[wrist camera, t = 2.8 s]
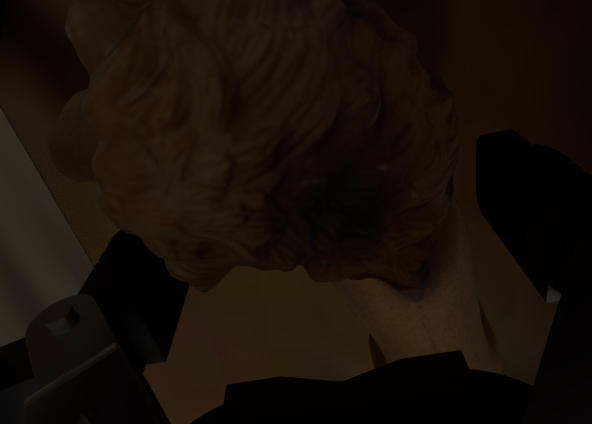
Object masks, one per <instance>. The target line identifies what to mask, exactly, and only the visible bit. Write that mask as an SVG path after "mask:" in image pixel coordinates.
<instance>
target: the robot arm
mask: <svg viewBox="0 0 592 424" xmlns="http://www.w3.org/2000/svg"><path fill="white" fill-rule="evenodd" d="M476 195H477V201H478V205H479V208H480V210H481V212H482V214H483V216H484V217H485V218H486V220H487V221H488V222H489V224H490V225H491V227H492V228H493V229H494V231H495V232H496V234H497V235H498V236H499V238H500V239H501V241H502V242H503V243H504V245H505V246H506V248H507V249H508V250H509V252H510V253H511V255H512V256H513V257H514V259H515V260H516V261H517V263H518V264H519V266H520V267H521V268H522V270H523V271H524V273H525V274H526V275H527V277H528V278H529V280H530V281H531V282H532V284H533V285H534V287H535V288H536V289H537V291H538V292H539V294H540V295H541V296H542V298H543V299H544V300H545V302H546V303H550V302H556V301H559V303H558V307H557V310H556V313H555V316H554V320H553V323H552V326H551V329H550V333H549V336H548V339H547V342H546V346H545V349H544V352H543V355H542V359H541V362H540V365H539V369H538V372H537V375H536V378H535V382H534V385H533V386H531V385H529V384H527V383H525V382H522V381H519V380H517V379H514V378H512V377H508V376H505V375H501V374H498V373H494V372H489V371H483V370H477V369H469V367H468V365H467V363H466V360H465V358H464V355H463V353H462V351H461V350H456V351H450V352H443V353H436V354H430V355H423V356H416V357H409V358H403V359H399V360H396V361H394V362H391V363H389V364H386V365H384V366H381V367H379V368H376V369H373V370H371V371H368V372H366V373H363V374H361V375H358V376H356V377H353V378H350V379H348V380H345V381H327V380H315V379H304V378H293V377H275V378H268V379H261V380H255V381H248V382H241V383H234V384H228V385H226V391H225V398H224V404H223V405H221V406H219V407H217V408H215V409H213V410H211V411H209V412H207V413H205V414H204V415H202V416H201V417H199V418H198V419H196V420H195V421H193V422H192V423H190V424H592V176H591V175H590V174H589V173H587V172H584V171H583V169H582V168H581V167H579V166H578V165H577V164H575V163H572V161H571V160H570V159H569V158H567V157H566V156H565V155H563V154H562V153H561V152H560V151H558V150H555V149H552V148H549V147H546V146H543V145H540V144H534V145H532V144H530V143H529V142H528V141H527V140H526V139H524V138H523V137H522V136H521V135H519V134H518V133H517V132H516V131H514V130H513V129H510V130H505V131H500V132H495V133H490V134H485V135H480V136H479V137H478V139H477V145H476ZM105 250H106V252H103V254H102V255H101V257H100V259H99V262H98V263H96V265H95V267H94V268H93V270H92V271H91V273H90V275H89V276H88V278H87V279H86V281H85V283H84V284H83V286H82V287H81V289H80V291H79V292H78V294H77V295H72V296H69V297H66V298H63V299H61V300H59V301H57V302H55V303H53V304H52V305H50V306H49V307H47V308H46V309H44V310H43V311H42V312H41V313H39V314H38V315H37V316H36V317H35V318H34V319H33V321H32V322H31V323H30V325H29V326H28V328H27V330H26V333H25V337H24V338H22V339H19V340H17V341H14V342H11V343H9V344H6V345H4V346H1V347H0V424H171V423H170V421H169V419H168V417H167V416H166V414H165V412H164V410H163V408H162V407H161V405H160V403H159V401H158V399H157V398H156V396H155V394H154V392H153V390H152V389H151V387H150V385H149V383H148V381H147V380H146V378H145V377H144V375H143V372H144V369H145V366H146V364H153V363H159V362H165V361H166V360H167V357H168V354H169V351H170V347H171V344H172V341H173V337H174V334H175V331H176V328H177V324H178V321H179V318H180V315H181V311H182V308H183V305H184V302H185V298H186V295H187V292H188V288H189V285H190V284H189V283H188V282H182V281H180V280H178V279H176V278H174V277H172V276H171V274H170V273H169V272H168V270H167V268H166V265H165V261H164V259H163V258H161V257H159V256H157V255H155V254H154V253H152V252H151V251H150V250H149V249H148V247H147V246H146V245H145V243H144V242H143V240H142V239H141V238H140V237H138V236H137V235H133V234H129V233H126V232H124V231H122V230H120V231H119V232H118V233H117V234H116V235H114V236H113V238H112V239H111V241H110V243H109V244H108V246H107V247H106V249H105Z"/></svg>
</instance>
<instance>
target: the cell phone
mask: <svg viewBox="0 0 592 424" xmlns="http://www.w3.org/2000/svg"><path fill="white" fill-rule="evenodd" d="M4 4H5V0H0V38H1V29H2V21H3V12H4Z"/></svg>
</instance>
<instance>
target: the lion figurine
mask: <svg viewBox="0 0 592 424" xmlns="http://www.w3.org/2000/svg"><path fill="white" fill-rule="evenodd" d="M65 30H66V33H67V36H68V38H69V39H70V41H71V42H72V44H73V45H74V48H75V50H76V52H77V55H78V57H79V59H80V61H81V63H82V64H83V66H84V67H85V69H86V71H87V72H88V74H89V76H90V85H89V87H88V89H86V90H83V91H80V92H78V93H76V94H74V95H73V96H72V98H71V99H70V100H69V101H68V102H67V103H66V104H65V105H64V107H63V109H62V111H61V113H60V116H59V118H58V120H57V122H56V124H55V126H54V127H53V128H52V129H51V131H50V132H49V134H48V137H47V146H48V151H49V155H50V158H51V160H52V162H53V164H54V165H55V167H56V168H57V169H58V170H59V171H60V172H61V173H62V174H64V175H65V176H66V177H68V178H70V179H72V180H75V181H79V182H83V181H92V182H98V183H99V185H100V186H101V188H100V192H99V196H98V200H97V202H98V204H99V206H100V207H101V209H102V211H103V212H104V214H105V215H106V216H107V217H108V218H109V219H110V220H111V221H112V222H113V223H114V225H115V226H116V227H117V228H118V229H120V230H122V231H124V232H126V233H129V234H133V235H137V236H138V237H140V238H141V239H142V240H143V242H144V243H145V245H146V246H147V247H148V249H149V250H150V251H151V252H152V253H154V254H155V255H157V256H159V257H161V258H163V259H164V261H165V265H166V268H167V270H168V272H169V273H170V274H171V276H172V277H174V278H176V279H178V280H180V281H182V282H188V283H189V284H190V285H191V286H192V287H193V288H195V289H197V290H198V291H201V292H208V291H209V290H211V289H213V288H214V287H215V286H216V285H217V284H218V283H219V282H220V281H221V280H222V279H223V278H224V277H225V275H226V274H227V273H228V272H229V271H230V270H231V269H232V268H234V267H235V266H250V267H253V268H256V269H261V270H274V269H277V270H281V271H283V272H286V271H291V270H293V269H294V268H296V267H297V266H298V265H303V266H304V268H305V269H306V271H307V272H308V275H309V277H310V278H311V279H312V280H314V281H316V282H329V281H333V283H334V285H335V287H336V288H337V290H338V291H339V293H340V294H341V296H342V297H343V299H344V300H345V302H346V303H347V305H348V306H349V307H350V309H351V310H352V312H353V313H354V314H355V316H356V317H357V318H358V320H359V321H360V322H361V323H362V324H363V325H364V327H365V328H366V329H367V330H368V332H369V333H370V334H369V347H370V352H371V357H372V360H373V364H374V368H375V369H376V368H379V367H381V366H384V365H386V364H389V363H391V362H394V361H396V360H399V359H403V358H409V357H416V356H423V355H430V354H436V353H443V352H450V351H456V350H461V351H462V353H463V355H464V358H465V360H466V363H467V365H468V367H469V369H477V370H483V371H489V372H494V373H498V374H501V357H500V352H499V348H498V344H497V342H496V339H495V336H494V333H493V330H492V328H491V326H490V324H489V322H488V320H487V318H486V316H485V313H484V310H483V308H482V306H481V303H480V301H479V299H478V296H477V290H476V283H475V276H474V269H473V261H472V254H471V248H470V243H469V238H468V234H467V230H466V227H465V224H464V221H463V218H462V215H461V212H460V209H459V206H458V203H457V201H456V199H455V196H454V194H453V189H454V188H453V175H452V174H453V171H454V169H455V166H456V164H457V159H458V153H459V144H460V139H459V135H458V120H457V116H456V110H455V107H454V105H453V104H454V96H453V94H452V92H451V91H450V90H448V89H447V88H446V85H445V83H444V81H443V80H442V79H441V77H440V76H439V74H438V73H437V71H436V70H435V68H434V67H432V66H431V65H429V64H428V63H426V61H425V59H424V58H423V56H422V54H421V52H420V51H419V43H418V40H417V38H416V37H415V35H414V34H412V33H411V32H410V31H409V30H406V29H404V28H402V27H400V26H399V25H398V24H396V23H395V22H394V21H393V20H392V19H391V18H390V17H389V16H388V14H387V13H386V11H385V10H384V9H382V8H381V7H380V6H379V5H377V4H376V3H375V2H364V1H363V0H80V1H78V2H77V3H76V4H75V5H73V6H72V7H71V8H70V9H69V11H68V15H67V20H66V25H65Z"/></svg>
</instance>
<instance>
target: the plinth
mask: <svg viewBox="0 0 592 424" xmlns="http://www.w3.org/2000/svg"><path fill="white" fill-rule="evenodd" d="M93 268H94V267H93V265H92V263H91V262H90V260H89V258H88V257H87V255H86V253H85V252H84V250H83V248H82V246H81V245H80V243H79V241H78V240H77V238H76V236H75V234H74V233H73V231H72V229H71V228H70V226H69V224H68V222H67V221H66V219H65V217H64V216H63V214H62V212H61V210H60V209H59V207H58V205H57V204H56V202H55V200H54V198H53V197H52V195H51V193H50V192H49V190H48V188H47V187H46V185H45V183H44V181H43V180H42V178H41V176H40V175H39V173H38V171H37V169H36V168H35V166H34V164H33V163H32V161H31V159H30V157H29V156H28V154H27V152H26V151H25V149H24V147H23V145H22V144H21V142H20V140H19V139H18V137H17V135H16V133H15V132H14V130H13V128H12V127H11V125H10V123H9V122H8V120H7V118H6V116H5V115H4V113H3V111H2V110H1V108H0V347H1V346H4V345H6V344H9V343H11V342H14V341H17V340H19V339H22V338H24V337H25V333H26V330H27V328H28V326H29V325H30V323H31V322H32V321H33V319H34V318H35V317H36V316H37V315H38V314H39V313H41V312H42V311H43V310H44V309H46V308H47V307H49V306H50V305H52V304H53V303H55V302H57V301H59V300H61V299H63V298H66V297H69V296H72V295H77V294H78V292H79V291H80V289H81V287H82V286H83V284H84V283H85V281H86V279H87V278H88V276H89V275H90V273H91V271H92V270H93Z"/></svg>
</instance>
